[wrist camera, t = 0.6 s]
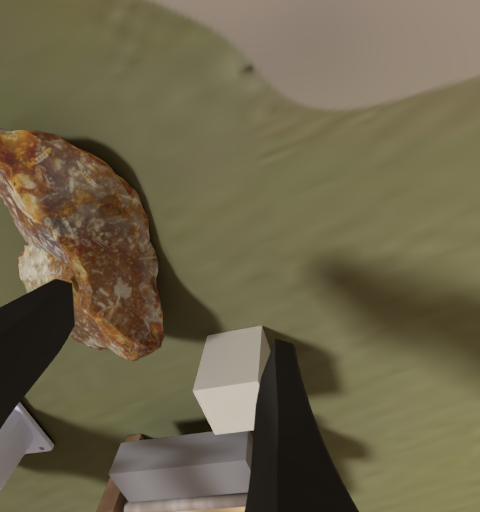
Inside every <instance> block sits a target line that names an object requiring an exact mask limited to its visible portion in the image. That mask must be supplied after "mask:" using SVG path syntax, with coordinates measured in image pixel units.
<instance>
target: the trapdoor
mask: <svg viewBox="0 0 480 512" xmlns="http://www.w3.org/2000/svg"><path fill="white" fill-rule="evenodd" d="M252 447H253V436H252V434H251V432H250V431H244V432H236V433H227V434H219V435H215V434H214V432H213V431H212V432H204V433H196V434H188V435H180V436H172V437H164V438H156V439H148V440H139V441H131V442H123V443H121V444H120V447H119V449H118V452H117V454H116V457H115V459H114V461H113V464H112V466H111V469H110V471H109V474H108V475H109V476H110V477H111V479H112V480H113V481H114V483H115V484H116V485H117V487H118V488H119V489H120V491H121V492H122V493H123V495H124V496H125V497H126V499H127V500H128V501H126V503H125V505H124V512H245V507H246V501H247V495H248V489H249V481H250V472H251V460H252Z"/></svg>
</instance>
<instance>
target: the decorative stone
mask: <svg viewBox="0 0 480 512" xmlns="http://www.w3.org/2000/svg"><path fill="white" fill-rule="evenodd" d="M0 196H1V198H2V199H3V201H4V203H5V205H6V206H7V207H8V208H9V212H10V214H11V215H12V216H13V217H14V222H15V224H16V226H17V228H18V230H19V231H20V233H21V234H22V235H23V237H24V239H25V240H26V242H27V243H26V244H25V245H24V247H25V251H24V252H21V254H20V255H19V257H18V266H19V272H20V278H21V280H22V281H23V283H24V284H25V287H26V290H27V292H28V293H29V292H31V291H33V290H35V289H36V288H38V287H40V286H42V285H44V284H46V283H48V282H50V281H52V280H54V279H59V280H63V281H66V282H70V283H72V285H73V301H74V318H75V326H74V328H73V330H72V331H71V333H70V335H69V338H71V339H73V340H75V341H77V342H80V343H84V344H86V345H87V346H89V347H90V348H96V349H98V350H101V349H110V350H112V351H113V352H114V353H116V354H117V355H119V356H120V357H122V358H126V359H129V360H131V361H137V360H138V359H140V358H142V357H144V356H146V355H148V354H150V353H152V352H154V351H155V350H157V349H159V348H160V347H161V344H162V341H163V339H164V329H163V311H162V308H161V305H160V297H159V294H158V290H157V284H156V277H157V274H158V261H157V257H156V252H155V250H154V248H153V247H152V244H151V242H150V240H149V238H150V235H149V231H148V230H149V221H148V216H147V214H146V213H145V211H144V210H143V207H142V204H141V201H140V197H139V195H138V193H137V192H136V190H135V189H133V188H132V187H131V186H130V185H129V184H128V183H127V182H126V180H124V179H123V178H121V177H120V176H118V175H116V174H115V172H114V171H113V169H112V168H111V167H110V166H109V165H108V164H107V163H106V162H104V161H103V160H101V159H100V158H98V157H96V156H94V155H93V154H91V153H89V152H86V151H84V150H82V149H78V148H77V147H75V146H73V145H71V144H69V143H68V142H66V141H65V140H63V139H62V138H60V137H59V136H56V135H54V134H49V133H43V132H39V131H32V130H16V131H10V130H5V129H2V128H0Z"/></svg>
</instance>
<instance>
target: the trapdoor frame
mask: <svg viewBox="0 0 480 512" xmlns="http://www.w3.org/2000/svg"><path fill="white" fill-rule="evenodd" d="M139 440H145V439H144V438H143V436H142V435H141V434H137V435H129V436H127V437H126V439H125V442H131V441H139ZM126 501H128V500H127V499H126V497H125V496H124V495H123V493H122V492H121V491H120V489H119V488H118V487H117V485H116V484H115V483H114V481H113V480H112V479H111V477H110V479H109V481H108V484H107V486H106V489H105V491H104V494H103V496H102V499H101V501H100V503H99V506H98V508H97V511H96V512H124V505H125V503H126Z"/></svg>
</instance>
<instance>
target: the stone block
mask: <svg viewBox="0 0 480 512" xmlns="http://www.w3.org/2000/svg"><path fill="white" fill-rule="evenodd" d="M270 352H271V350H270V347H269V344H268V341H267V338H266V336H265V333H264V330H263V327H262V326H256V327H251V328H246V329H240V330H235V331H230V332H224V333H219V334H213V335H208V336H207V339H206V343H205V347H204V350H203V354H202V358H201V362H200V365H199V369H198V373H197V377H196V381H195V384H194V388H193V392H194V394H195V396H196V398H197V400H198V402H199V404H200V406H201V408H202V410H203V412H204V414H205V416H206V418H207V420H208V422H209V424H210V426H211V428H212V430H213V432H214V434H215V435H219V434H227V433H236V432H244V431H252V430H254V422H255V409H256V402H257V396H258V391H259V386H260V380H261V376H262V373H263V371H264V368H265V365H266V363H267V360H268V357H269V355H270Z"/></svg>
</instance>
